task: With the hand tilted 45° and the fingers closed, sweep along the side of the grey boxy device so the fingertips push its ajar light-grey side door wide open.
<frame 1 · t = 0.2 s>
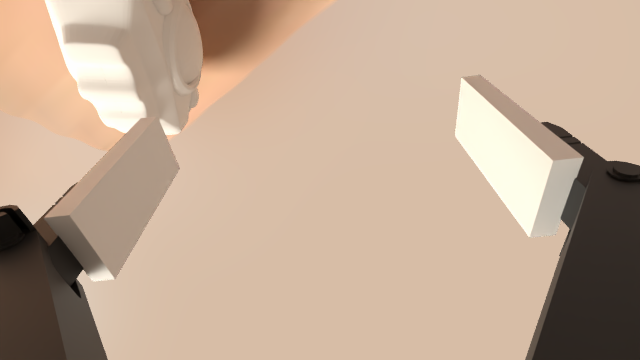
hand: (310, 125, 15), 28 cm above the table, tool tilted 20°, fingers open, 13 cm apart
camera: (158, 1, 37), on the table
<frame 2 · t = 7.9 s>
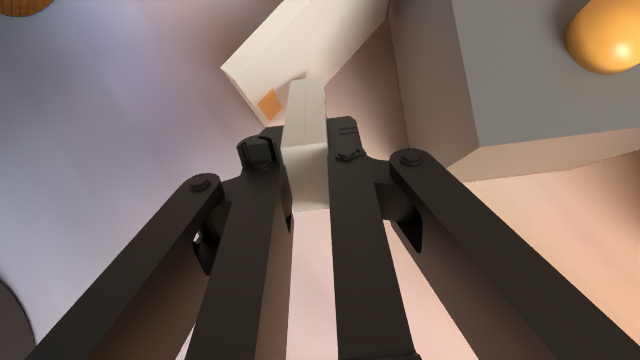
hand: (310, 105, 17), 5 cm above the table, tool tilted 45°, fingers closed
grey boxy device: (395, 65, 22), on the table
side door: (326, 33, 17), point 5 cm above the table, hinge at 48.2°, touching gripper
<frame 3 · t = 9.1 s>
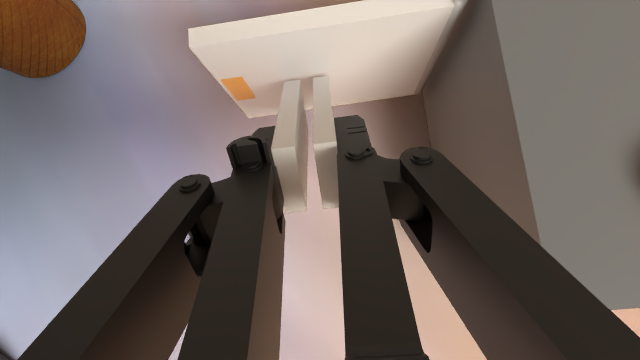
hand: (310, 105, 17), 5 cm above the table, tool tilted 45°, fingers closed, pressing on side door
grey boxy device: (429, 139, 21), on the table
side door: (330, 67, 17), point 5 cm above the table, hinge at 88.8°, touching gripper
disposable coffee cup: (47, 38, 24), on the table
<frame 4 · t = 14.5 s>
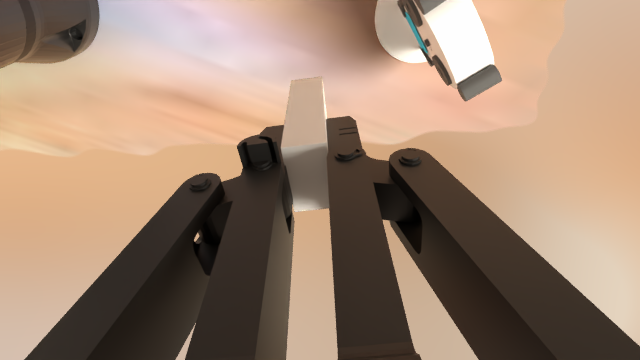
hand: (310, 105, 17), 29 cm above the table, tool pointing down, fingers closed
white piece: (419, 12, 42), on the table
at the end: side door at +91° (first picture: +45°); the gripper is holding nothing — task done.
